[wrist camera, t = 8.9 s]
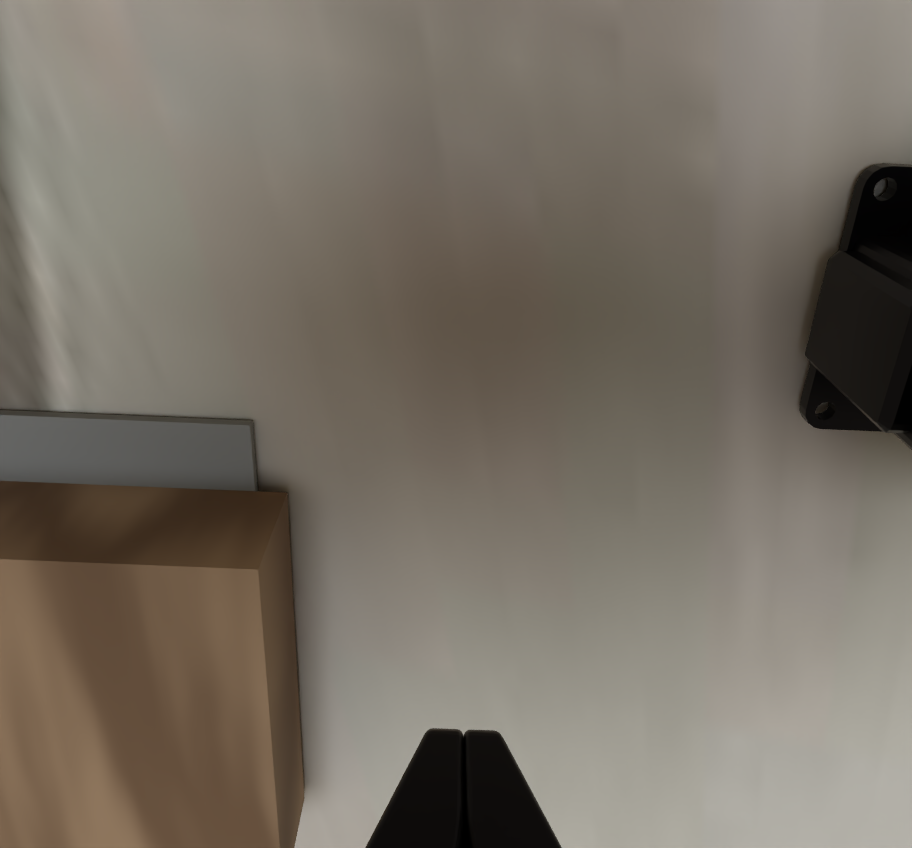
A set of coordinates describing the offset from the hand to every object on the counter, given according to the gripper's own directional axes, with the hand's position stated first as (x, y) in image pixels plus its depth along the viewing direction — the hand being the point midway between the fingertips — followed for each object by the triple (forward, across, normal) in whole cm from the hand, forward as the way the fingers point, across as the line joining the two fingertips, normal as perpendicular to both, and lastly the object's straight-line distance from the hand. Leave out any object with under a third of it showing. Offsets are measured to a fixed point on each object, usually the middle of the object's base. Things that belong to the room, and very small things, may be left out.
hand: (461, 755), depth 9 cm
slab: (+10, +5, +10) cm, 15 cm away
